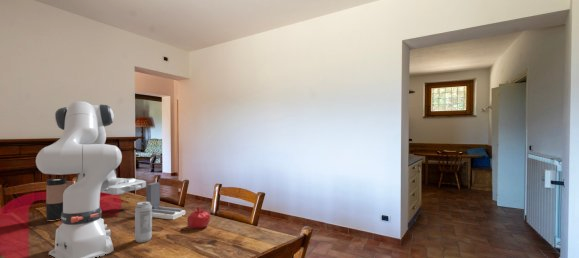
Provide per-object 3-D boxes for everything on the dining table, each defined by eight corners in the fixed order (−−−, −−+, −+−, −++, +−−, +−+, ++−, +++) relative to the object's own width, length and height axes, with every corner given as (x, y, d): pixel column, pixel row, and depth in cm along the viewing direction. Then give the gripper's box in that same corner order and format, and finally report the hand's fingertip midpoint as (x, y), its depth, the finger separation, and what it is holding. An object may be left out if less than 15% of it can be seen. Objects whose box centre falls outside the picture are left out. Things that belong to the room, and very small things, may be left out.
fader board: (185, 214, 143) (185, 208, 143) (173, 219, 135) (173, 213, 135) (153, 210, 150) (153, 204, 150) (140, 215, 141) (140, 209, 141)
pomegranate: (203, 231, 119) (203, 210, 119) (182, 229, 121) (182, 209, 121) (213, 223, 129) (214, 204, 129) (194, 222, 131) (194, 203, 131)
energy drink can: (147, 236, 114) (148, 200, 114) (154, 239, 110) (154, 202, 110) (132, 240, 109) (132, 203, 109) (138, 244, 105) (138, 205, 105)
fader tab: (161, 208, 146) (161, 182, 146) (152, 211, 141) (152, 184, 141) (153, 207, 148) (153, 182, 148) (144, 210, 142) (144, 184, 142)
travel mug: (57, 221, 131) (57, 180, 131) (41, 221, 131) (41, 180, 131) (70, 216, 139) (70, 177, 139) (55, 216, 139) (55, 177, 139)
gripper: (101, 184, 142) (121, 186, 138) (134, 177, 161) (153, 179, 157) (101, 196, 142) (121, 198, 138) (134, 188, 161) (153, 189, 157)
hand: (138, 188), depth 147 cm, fingers closed
